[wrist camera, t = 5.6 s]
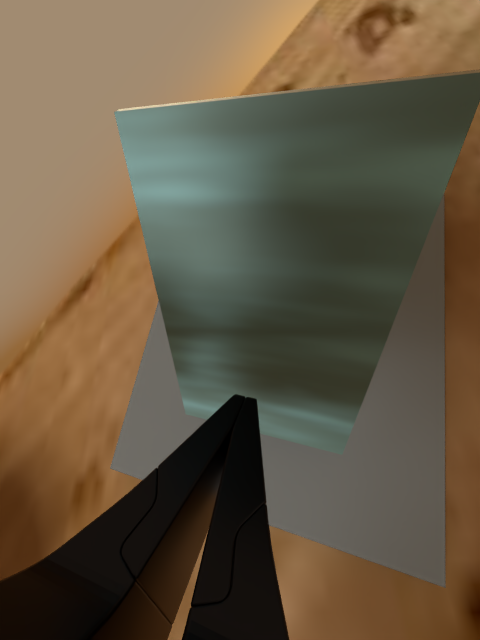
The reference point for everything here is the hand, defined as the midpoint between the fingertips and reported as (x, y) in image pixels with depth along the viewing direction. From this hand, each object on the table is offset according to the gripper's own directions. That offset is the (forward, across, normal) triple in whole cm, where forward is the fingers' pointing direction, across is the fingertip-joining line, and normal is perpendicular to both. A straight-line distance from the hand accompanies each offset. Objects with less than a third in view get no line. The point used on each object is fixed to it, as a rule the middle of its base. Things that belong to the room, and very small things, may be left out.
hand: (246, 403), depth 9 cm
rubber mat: (+9, 0, +2) cm, 10 cm away
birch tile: (+4, 0, +5) cm, 7 cm away
